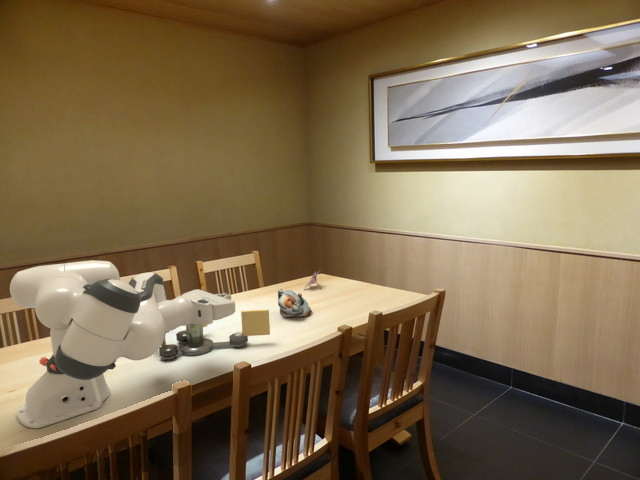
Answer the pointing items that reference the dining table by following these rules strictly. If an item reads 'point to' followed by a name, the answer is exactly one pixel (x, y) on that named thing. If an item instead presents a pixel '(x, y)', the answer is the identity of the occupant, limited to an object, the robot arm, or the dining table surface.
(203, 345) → the tribrach
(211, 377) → the dining table surface
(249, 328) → the tan placard on stand
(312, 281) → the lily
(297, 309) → the grey lumpy piece
